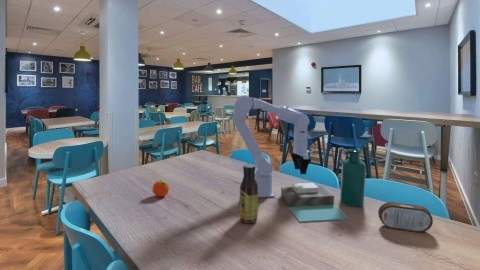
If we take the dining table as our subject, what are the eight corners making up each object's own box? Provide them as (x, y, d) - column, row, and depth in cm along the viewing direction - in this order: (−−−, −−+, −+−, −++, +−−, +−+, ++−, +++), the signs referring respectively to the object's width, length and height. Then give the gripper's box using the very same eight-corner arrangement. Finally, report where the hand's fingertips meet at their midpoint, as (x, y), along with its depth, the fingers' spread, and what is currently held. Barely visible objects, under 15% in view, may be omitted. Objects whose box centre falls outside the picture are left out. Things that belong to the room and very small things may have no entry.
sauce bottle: (239, 216, 96) (238, 162, 93) (256, 216, 97) (256, 162, 94) (240, 225, 90) (240, 168, 87) (259, 224, 90) (259, 167, 87)
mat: (299, 222, 92) (299, 221, 92) (289, 207, 103) (289, 206, 103) (349, 219, 94) (349, 218, 94) (333, 205, 105) (333, 204, 105)
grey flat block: (289, 207, 103) (289, 198, 103) (281, 196, 115) (281, 187, 115) (333, 205, 105) (334, 195, 105) (321, 194, 117) (321, 185, 117)
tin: (429, 230, 86) (432, 205, 84) (432, 235, 83) (435, 209, 82) (377, 223, 91) (379, 199, 90) (378, 227, 88) (380, 203, 87)
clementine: (174, 195, 118) (174, 179, 117) (164, 200, 111) (163, 184, 110) (160, 192, 121) (159, 177, 120) (149, 197, 115) (148, 181, 114)
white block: (297, 193, 108) (297, 188, 108) (292, 188, 114) (292, 183, 113) (318, 192, 109) (318, 187, 108) (312, 187, 115) (313, 182, 114)
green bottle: (361, 199, 111) (365, 147, 108) (364, 207, 103) (367, 151, 100) (336, 196, 114) (339, 146, 111) (337, 204, 106) (339, 150, 103)
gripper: (316, 143, 109) (315, 175, 111) (303, 137, 123) (303, 166, 125) (299, 144, 108) (298, 176, 110) (288, 138, 122) (288, 167, 124)
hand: (300, 171), depth 117 cm, fingers open, 7 cm apart
